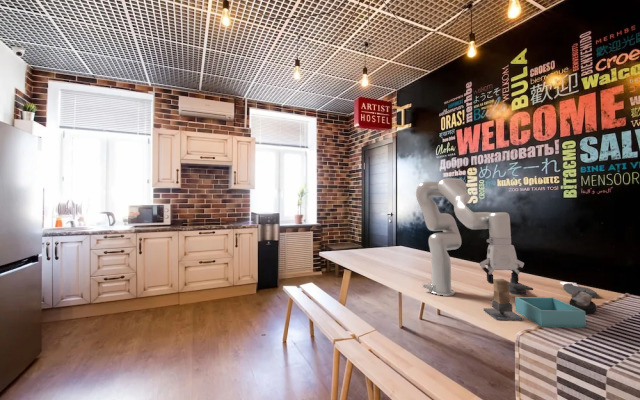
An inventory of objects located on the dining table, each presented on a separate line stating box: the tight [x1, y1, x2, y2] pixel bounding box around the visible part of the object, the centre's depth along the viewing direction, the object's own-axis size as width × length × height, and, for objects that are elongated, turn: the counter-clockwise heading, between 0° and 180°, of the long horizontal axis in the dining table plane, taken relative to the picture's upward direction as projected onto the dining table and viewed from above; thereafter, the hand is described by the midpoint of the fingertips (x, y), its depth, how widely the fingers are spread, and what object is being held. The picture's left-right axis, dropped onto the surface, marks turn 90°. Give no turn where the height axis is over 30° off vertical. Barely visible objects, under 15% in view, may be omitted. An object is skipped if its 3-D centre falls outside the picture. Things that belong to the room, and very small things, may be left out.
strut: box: [491, 278, 513, 312], centre depth 115 cm, size 5×5×12 cm
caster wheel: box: [569, 290, 597, 315], centre depth 119 cm, size 7×11×10 cm
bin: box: [514, 296, 587, 328], centre depth 111 cm, size 16×16×6 cm
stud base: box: [483, 307, 524, 321], centre depth 115 cm, size 10×10×6 cm
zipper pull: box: [509, 278, 534, 296], centre depth 142 cm, size 9×7×25 cm
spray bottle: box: [559, 281, 599, 299], centre depth 146 cm, size 3×11×24 cm
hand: (502, 283), depth 115 cm, fingers open, 9 cm apart
